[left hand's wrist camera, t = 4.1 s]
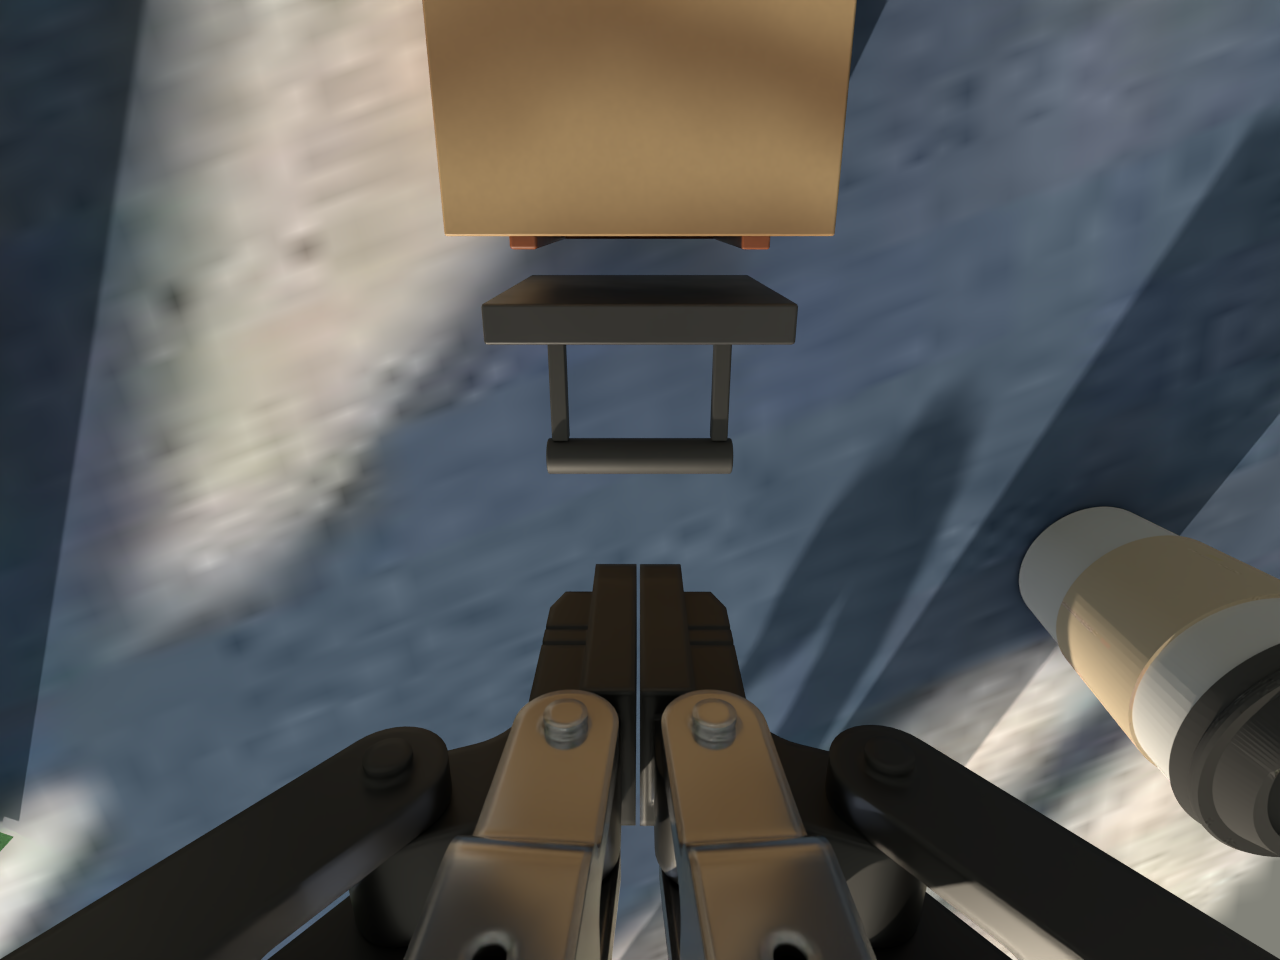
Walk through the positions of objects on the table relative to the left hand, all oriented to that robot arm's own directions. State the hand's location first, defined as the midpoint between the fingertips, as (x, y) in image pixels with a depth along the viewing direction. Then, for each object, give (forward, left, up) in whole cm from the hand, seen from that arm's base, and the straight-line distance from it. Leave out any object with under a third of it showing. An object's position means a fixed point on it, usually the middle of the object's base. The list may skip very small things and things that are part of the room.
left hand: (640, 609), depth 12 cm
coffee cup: (+23, +9, -21) cm, 33 cm away
